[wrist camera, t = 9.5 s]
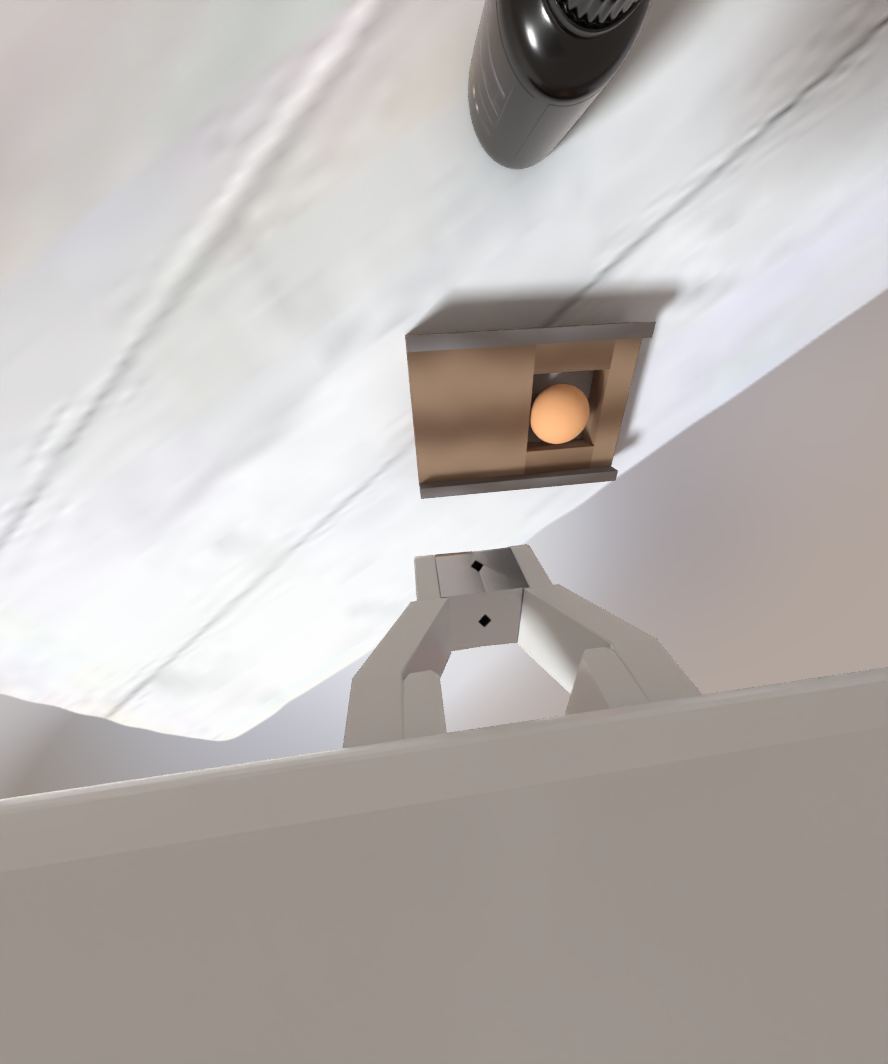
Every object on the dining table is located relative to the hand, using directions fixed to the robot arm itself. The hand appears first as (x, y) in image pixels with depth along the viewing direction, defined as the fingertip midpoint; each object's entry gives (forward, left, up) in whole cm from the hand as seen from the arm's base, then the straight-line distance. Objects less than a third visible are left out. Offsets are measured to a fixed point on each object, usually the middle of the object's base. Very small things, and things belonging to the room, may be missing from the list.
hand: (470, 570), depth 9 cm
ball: (+2, +12, -22) cm, 25 cm away
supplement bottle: (-17, +8, -25) cm, 31 cm away
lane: (+2, +9, -24) cm, 26 cm away
